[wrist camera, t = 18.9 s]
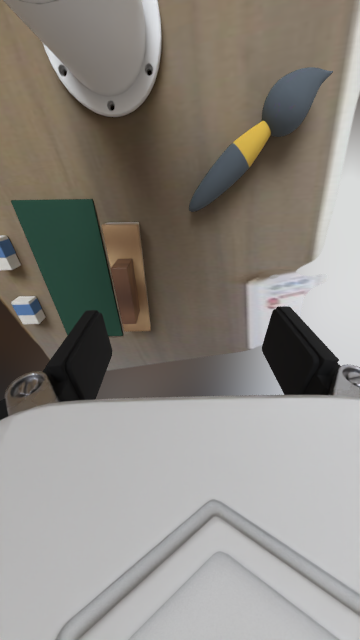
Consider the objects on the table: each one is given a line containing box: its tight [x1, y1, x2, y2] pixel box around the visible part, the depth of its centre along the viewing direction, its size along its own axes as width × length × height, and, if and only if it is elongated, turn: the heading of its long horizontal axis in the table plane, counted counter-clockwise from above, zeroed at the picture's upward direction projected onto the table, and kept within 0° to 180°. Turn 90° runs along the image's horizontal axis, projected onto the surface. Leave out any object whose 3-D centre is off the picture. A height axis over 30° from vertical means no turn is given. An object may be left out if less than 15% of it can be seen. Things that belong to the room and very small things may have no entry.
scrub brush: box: [102, 222, 151, 331], centre depth 35 cm, size 20×5×7 cm, turn 1°
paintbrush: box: [189, 68, 333, 212], centre depth 25 cm, size 20×5×5 cm, turn 139°
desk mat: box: [11, 199, 123, 336], centre depth 37 cm, size 26×12×1 cm, turn 1°
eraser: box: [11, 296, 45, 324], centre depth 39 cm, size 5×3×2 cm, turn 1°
